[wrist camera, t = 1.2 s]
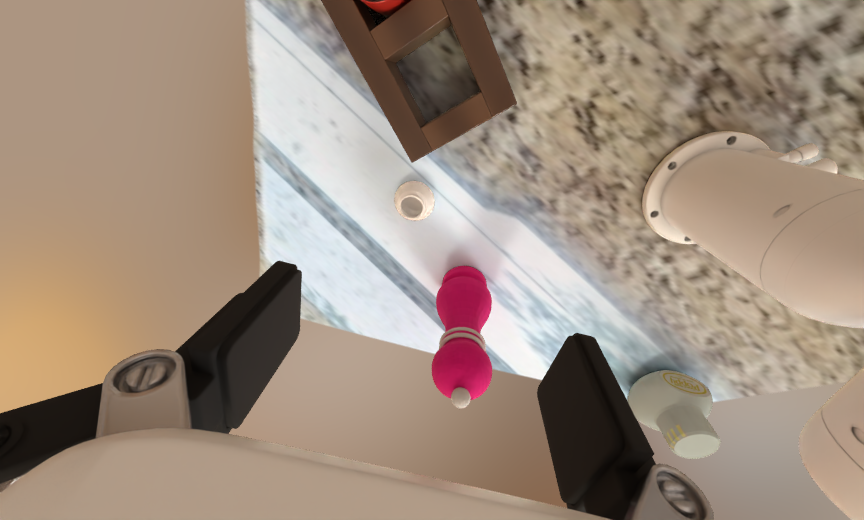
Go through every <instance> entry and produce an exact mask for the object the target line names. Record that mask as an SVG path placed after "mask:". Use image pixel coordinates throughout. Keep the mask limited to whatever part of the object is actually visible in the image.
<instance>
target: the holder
mask: <svg viewBox="0 0 864 520" xmlns="http://www.w3.org/2000/svg"><path fill="white" fill-rule="evenodd" d="M321 1H322V3H323V5H324V6H325V8H326V10H327V12H328V13H329V15H330V17H331V19H332V21H333V22H334V24H335V26H336V28H337V30H338V31H339V33H340V35H341V37H342V39H343V40H344V42H345V44H346V46H347V47H348V49H349V51H350V53H351V55H352V56H353V58H354V60H355V62H356V64H357V65H358V67H359V69H360V71H361V73H362V74H363V76H364V78H365V80H366V82H367V83H368V85H369V87H370V89H371V90H372V92H373V94H374V96H375V98H376V99H377V101H378V103H379V105H380V107H381V108H382V110H383V112H384V114H385V116H386V117H387V119H388V121H389V123H390V124H391V126H392V128H393V130H394V132H395V133H396V135H397V137H398V139H399V141H400V142H401V144H402V146H403V148H404V150H405V151H406V153H407V155H408V157H409V159H410V160H411V162H414V161H416V160H418V159H420V158H421V157H423V156H425V155H427V154H429V153H430V152H432V151H434V150H436V149H437V148H439V147H441V146H443V145H445V144H446V143H448V142H450V141H452V140H454V139H455V138H457V137H459V136H461V135H462V134H464V133H466V132H468V131H470V130H471V129H473V128H475V127H477V126H479V125H480V124H482V123H484V122H486V121H487V120H489V119H491V118H492V117H495V116H496V115H498V114H500V113H502V112H504V111H505V110H507V109H509V108H511V107H513V106H514V105H516V104H517V102H516V99H515V97H514V94H513V92H512V89H511V87H510V84H509V82H508V79H507V77H506V74H505V71H504V69H503V66H502V64H501V61H500V59H499V56H498V54H497V51H496V49H495V46H494V43H493V41H492V38H491V36H490V33H489V31H488V28H487V26H486V23H485V21H484V18H483V16H482V13H481V10H480V8H479V5H478V3H477V0H411V1H410V2H409V3H407V4H406V5H405V6H403V7H402V8H401V9H399V10H398V11H397V12H395V13H394V14H393V15H391V16H390V17H389V18H387V19H386V20H385V21H383V22H382V23H380V24H379V25H378V26H376V24H375V22H374V20H373V18H372V16H371V14H370V12H369V10H368V8H367V6H366V4H365V3H363V2H362V1H361V0H321ZM451 25H452V27H453V29H454V32H455V34H456V36H457V39H458V41H459V43H460V46H461V48H462V50H463V53H464V55H465V57H466V60H467V62H468V64H469V66H470V69H471V71H472V73H473V76H474V78H475V80H476V83H477V85H478V87H479V90H480V91H479V92H478V93H476V94H474V95H473V96H471V97H469V98H468V99H466V100H464V101H463V102H461V103H459V104H457V105H456V106H454V107H452V108H451V109H449V110H447V111H446V112H444V113H442V114H441V115H439V116H437V117H436V118H434V119H432V120H431V121H429V122H427V123H426V121H425V119H424V117H423V115H422V113H421V112H420V110H419V108H418V106H417V104H416V102H415V100H414V98H413V96H412V94H411V92H410V90H409V88H408V86H407V84H406V82H405V80H404V78H403V76H402V75H401V73H400V71H399V69H398V67H397V65H396V63H397V62H398V61H400V60H401V59H403V58H404V57H405V56H407V55H408V54H410V53H411V52H413V51H414V50H416V49H417V48H419V47H420V46H421V45H423V44H424V43H426V42H427V41H429V40H430V39H432V38H433V37H435V36H436V35H438V34H439V33H440V32H442V31H443V30H445V29H446V28H448V27H449V26H451Z"/></svg>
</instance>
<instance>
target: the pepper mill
mask: <svg viewBox="0 0 864 520" xmlns="http://www.w3.org/2000/svg"><path fill="white" fill-rule="evenodd" d="M491 303H492V300H491V295H490V292H489V290H488V289H487V285H486V279H485V277H484V276H483V274H482V273H481V272H480V271H479V270H477V269H475V268H473V267H470V266H458V267H455V268H453V269H451V270H450V271H448V272H447V273H446V275H445V276H444V278H443V282H442V286H441V288H440V289H439V291H438V293H437V299H436V305H437V311H438V315H439V317H440V319H441V321H442V322H443V324H444V326H445V328H446V332H445V333H444V334H443V335H442V337H441V339H440V343H439V344H440V346H439V350H438V351H437V353H436V354H435V356H434V359H433V362H432V376H433V380H434V383H435V385H436V387H437V388H438V389H439V390H440V392H441V393H442V394H444V395H445V396H447V397H448V398H451V401H452V403H453V404H454V406H456V407H458V408H465V407H466V406H468V404H469V403H470V400H473V399H475V398H478V397H479V396H481V395H482V394H483V393H484V392H485V391H486V390H487V388H488V386H489V384H490V381H491V377H492V365H491V362H490V359H489V357H488V355H487V354H486V348H485V347H486V344H485V340H484V338H483V337H482V335H481V334H480V331H481V329H482V327H483V325H484V324H485V322H486V321H487V319H488V317H489V314H490V311H491Z"/></svg>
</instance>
